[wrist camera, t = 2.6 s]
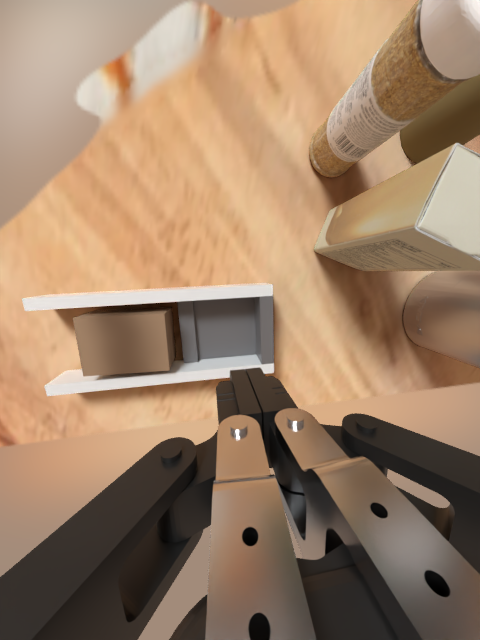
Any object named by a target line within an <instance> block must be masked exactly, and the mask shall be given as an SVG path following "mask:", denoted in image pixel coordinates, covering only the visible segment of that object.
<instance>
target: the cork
mask: <svg viewBox="0 0 480 640" xmlns="http://www.w3.org/2000/svg"><path fill="white" fill-rule="evenodd" d="M478 135H480V74H479V75H477V76H474V77H472V78H471V79H469V80H467V81H465V82H462V83H461V84H459V85H458V86H456V87H455V88H454V89H453V90H452V91H451V92H449V93H448V94H446V95H445V96H444V97H443V98H441V99H440V100H439V101H438V102H436V103H435V104H433V105H432V106H431V107H430V108H428V109H427V110H426V111H424V112H423V113H422V114H421V115H419V116H418V117H417V118H416V119H414V120H413V121H412V122H411V123H410V124H408V125H407V126H405V127H404V128H403V129H401V130H400V139H401V146H402V148H403V150H404V152H405V154H406V156H407V157H408V158H409V159H410V160H411V161H413V162H415V163H417V164H418V163H420V162H422V161H423V160H425V159H427V158H429V157H431V156H433V155H435V154H437V153H438V152H440V151H442V150H444V149H446V148H448V147H450V146H452V145H453V144H455V143H459V144H461V145H464V144H465V143H467V142H469V141H470V140H472V139H473V138H475V137H476V136H478Z"/></svg>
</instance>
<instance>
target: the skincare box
mask: <svg viewBox="0 0 480 640" xmlns="http://www.w3.org/2000/svg"><path fill="white" fill-rule="evenodd" d="M314 251H315V252H317V253H319V254H321V255H323V256H326V257H328V258H330V259H333V260H335V261H338V262H340V263H343V264H345V265H348V266H350V267H353V268H356V269H358V270H361V271H480V154H478V153H476V152H474V151H473V150H470V149H468V148H466V147H464V146H463V145H461V144H459V143H455V144H453V145H452V146H450V147H448V148H446V149H444V150H442V151H440V152H438V153H437V154H435V155H433V156H431V157H429V158H427V159H425V160H423V161H422V162H420V163H418V164H416V165H414V166H412V167H410V168H408V169H407V170H405V171H403V172H401V173H399V174H397V175H395V176H393V177H391V178H390V179H388V180H386V181H384V182H382V183H380V184H378V185H376V186H374V187H373V188H371V189H369V190H367V191H365V192H363V193H361V194H359V195H358V196H356V197H354V198H352V199H350V200H348V201H346V202H344V203H343V204H341V205H339V206H337V207H335V208H333V209H331V210H330V211H329V213H328V216H327V218H326V220H325V223H324V225H323V227H322V230H321V232H320V235H319V237H318V240H317V242H316V245H315V247H314Z"/></svg>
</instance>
